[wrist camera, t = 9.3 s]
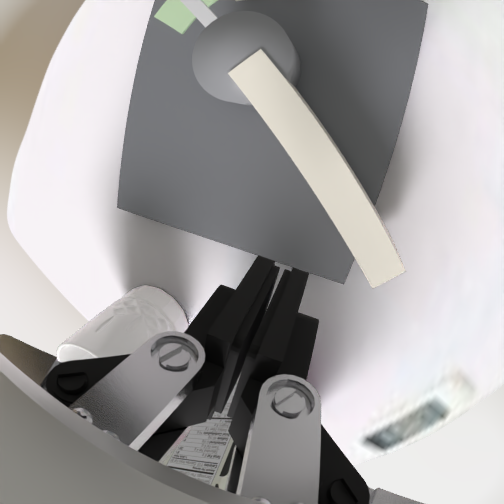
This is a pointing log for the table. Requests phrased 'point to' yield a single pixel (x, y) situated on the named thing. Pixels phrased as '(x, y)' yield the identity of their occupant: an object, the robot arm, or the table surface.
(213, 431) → the candy bar box
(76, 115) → the table surface
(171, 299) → the white cup
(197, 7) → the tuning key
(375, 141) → the tuner board
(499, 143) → the table surface
